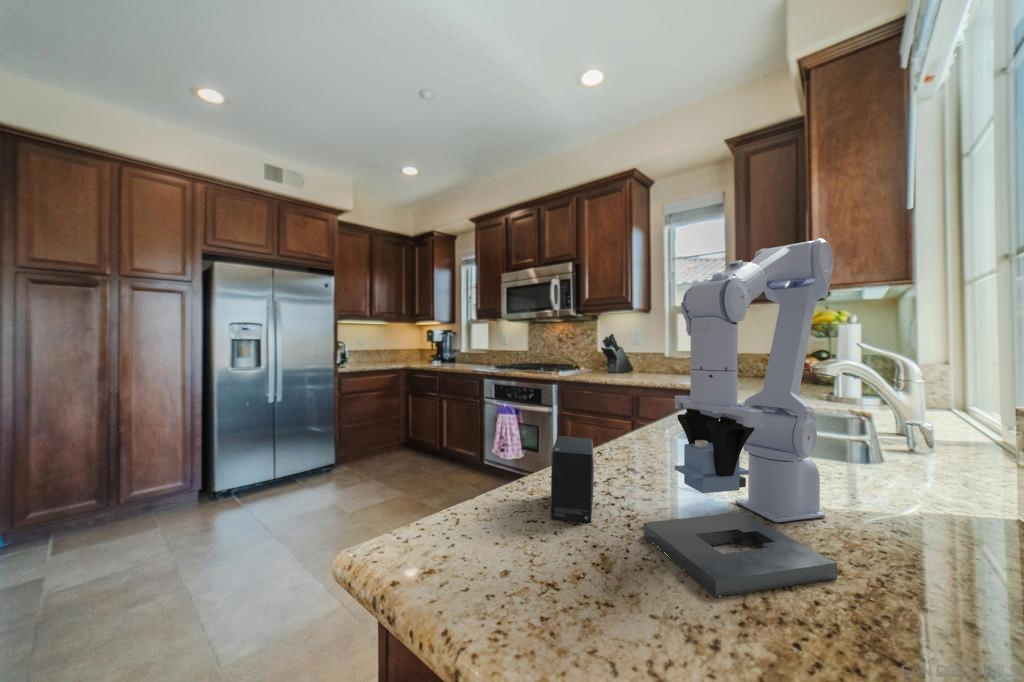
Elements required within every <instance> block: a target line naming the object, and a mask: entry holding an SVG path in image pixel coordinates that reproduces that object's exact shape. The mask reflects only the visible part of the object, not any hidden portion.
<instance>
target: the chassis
mask: <svg viewBox="0 0 1024 682" xmlns="http://www.w3.org/2000/svg"><path fill="white" fill-rule="evenodd" d="M642 525H643V528H642V529H643V530H642V531H643V532H642V533H643V535H644V536H645V537H644V536H643V535H642V536H643V537H644V538H646V539H647V540H648V539H649V540H650V541H651V542H653V543H654V544H655V545H656V546H658V547H659V548H660V549H661V550H662V551H663V552H665V553H666V554H667V555H668V556H669V557H670V558H671V559H672V560H673V561H674V564H676V565H677V564H678V565H679V566H680V567H681V570H683V569H684V570H683V572H685V571H686V572H687V573H688V574H687V573H686V572H685V573H686V574H687V575H689V576H690V575H691V576H692V577H693V578H694V579H695V580H694V579H693V578H692V577H691V576H690V577H691V578H692V579H693V580H694V581H696V583H698V584H699V585H700V584H701V585H702V586H703V587H702V588H704V589H705V588H706V589H707V590H708V591H709V592H710V593H709V592H708V591H707V590H706V589H705V590H706V591H707V592H708V593H709V594H710V595H712V594H713V595H714V596H715V597H719V596H725V597H728V596H727V595H731V596H736V595H735V594H737V595H743V593H744V594H748V593H747V592H750V593H754V592H755V591H756V592H761V591H760V590H763V591H767V589H769V590H774V588H775V589H780V588H785V587H793V586H799V585H804V584H811V583H818V582H824V581H830V580H835V579H838V562H837V561H835V560H834V559H831V558H829V557H827V555H826V556H825V555H824V554H821V553H820V552H819V551H816V550H814V549H812V548H811V547H809V546H807V545H805V544H802V543H801V542H799V541H797V540H796V539H793V538H791V537H789V536H788V535H785V534H784V533H781V532H780V531H779V530H776V529H775V528H773V527H770V526H769V525H766V524H765V523H763V522H761V521H759V520H757V519H756V518H754V517H751V516H749V515H747V514H746V513H744V512H742V511H740V512H731V513H720V514H713V515H712V514H710V515H702V516H694V517H685V518H683V517H682V518H676V519H675V518H674V519H663V520H655V521H647V522H643V523H642ZM649 540H648V541H649ZM650 541H649V542H650ZM651 542H650V543H651ZM653 543H652V544H653ZM726 543H730V544H736V543H738V544H740V545H741V546H742V547H749V546H756V545H757V546H759V547H760V548H757V549H756V548H755V549H750V550H749V549H748V550H742V551H734V552H726V553H723V552H721V551H719V550H718V549H717V548H715V547H714V546H711V545H715V546H719V545H718V544H722V545H727V544H726ZM654 544H653V545H654ZM655 545H654V546H655ZM656 546H655V547H656ZM660 549H659V550H660ZM661 550H660V551H661ZM662 551H661V552H662ZM663 552H662V553H663ZM668 556H667V557H668ZM669 557H668V558H669ZM670 558H669V559H670ZM671 559H670V560H671ZM672 560H671V561H672ZM673 561H672V562H673ZM678 565H677V566H678ZM679 566H678V567H679ZM680 567H679V568H680ZM701 585H700V586H701ZM713 595H712V596H713ZM714 596H713V597H714ZM715 597H714V598H715ZM719 598H720V597H719Z"/></svg>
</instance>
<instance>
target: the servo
mask: <svg viewBox="0 0 1024 682" xmlns="http://www.w3.org/2000/svg"><path fill="white" fill-rule="evenodd" d="M683 446H684V448H683V449H684V452H683V453H684V454H683V455H684V461H683V462H684V463H683V464H684V465H681V464H680V465H674V470H675V471H677V472H678V473H681V474H682V475H683V476H684V477H683V480H684V481H683V482H684V483H683V484H685V485H687V486H689V487H691V488H692V489H694V490H696V491H697V492H700V493H701V494H710V493H712V494H713V493H723V492H724V493H725V492H735V491H740V488H746V487H747V485H746V484H747V478H746V477H744V476H747V475H749V470H748V469H745V468H743V467H742V466H740V457H739V458H738V461H737V465H736V468H735V472H734V475H733V476H727V477H719V476H717V475H716V471H715V464H714V450H713V444H712V443H708V441H705V440H695V444H689V443H685V444H684V445H683Z"/></svg>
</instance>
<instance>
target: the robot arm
mask: <svg viewBox="0 0 1024 682" xmlns="http://www.w3.org/2000/svg"><path fill="white" fill-rule="evenodd" d="M831 247H832V246H831V244H830V243H829V242H828V241H827V240H826V239H825V238H815V239H814V240H809V241H803V242H798V243H792V244H787V245H781V246H774V247H770V248H767V247H766V248H765V247H764V248H761V249H759V250H757V251H755V254H754V258H753V259H752V260H751V261H750V262H749V261H743V259H740V260H734V261H731V262H729V263H727V266H728V268H727V269H725V270H724V271H722V272H721V271H720V272H716V273H714V274H713V275H712V276H711V279H709V280H708V281H707V282H700V283H694V284H692V285H691V286H690V287H689V288H687V290H686V291H685V292H684V295H683V298H682V301H681V302H680V307H681V309H680V310H681V314H682V316H683V318H684V320H685V327H686V328H685V329H686V330H685V331H686V332H687V336H689V337H690V371H689V373H690V374H689V375H690V382H689V383H690V385H689V386H690V389H689V390H690V391H689V392H690V394H689V395H687V394H686V395H674V409H676V410H685V411H686V412H685V413H682V414H681V413H679V414H677V421H678V422H679V424H680V425H681V427H682V429H683V431H684V434H685V437H686V439H687V442H688V444H695V440H705V441H708V443H712V444H713V450H714V464H715V471H716V475H717V476H719V477H727V476H733V475H734V472H735V468H736V465H737V461H738V458H739V459H740V455H741V452H742V450H743V451H744V452H747V454H748V462H747V463H748V465H747V467H748V469H747V470H749V475H748V476H747V478H748V479H747V481H748V485H747V487H748V488H747V489H748V490H747V491H748V494H747V495H748V496H747V498H737V499H735V503H736V504H738V505H740V506H741V507H744V508H746V509H747V510H749V511H752V512H753V513H755V514H756V515H757V514H758V515H760V516H762V517H764V518H765V519H767V520H770V521H772V523H773V522H774V523H782V522H783V523H784V522H791V521H798V520H799V521H800V520H801V521H802V520H807V519H808V520H809V519H816V518H824V517H826V514H825V512H823V511H820V509H821V508H820V507H821V506H820V505H821V503H820V502H821V498H820V497H821V496H820V495H821V492H820V488H821V487H820V486H821V484H820V483H821V482H820V479H821V478H820V477H821V476H820V471H819V469H818V467H817V465H816V463H815V461H814V460H813V459H812V458H811V457H810V456H812V455H813V453H814V452H815V450H816V446H817V442H818V441H817V440H818V433H817V421H818V416H817V414H816V413H815V410H814V409H813V408H812V407H811V406H810V405H809V404H808V403H807V402H805V401H804V400H803V399H802V398H800V397H799V395H800V390H801V384H802V378H803V372H804V369H805V368H804V367H805V363H806V357H807V352H808V345H809V340H810V335H811V331H812V330H811V329H812V325H813V324H812V323H813V320H814V313H815V310H816V309H815V308H816V305H817V301H818V300H820V299H822V298H823V297H825V296H827V295H828V292H829V288H830V286H831V281H832V276H833V270H834V259H833V258H834V257H833V251H832V248H831ZM762 293H764V294H765V297H766V299H767V300H769V301H772V302H773V303H777V304H778V305H779V307H778V311H777V317H776V323H775V328H774V332H773V336H772V337H773V338H772V341H771V343H772V344H771V347H770V351H769V357H768V363H767V367H766V372H765V376H764V382H763V387H762V390H761V391H759V392H757V393H755V394H753V395H751V396H749V397H747V398H746V399H744V402H743V404H741V403H738V372H739V371H738V370H739V369H738V364H739V363H738V357H739V356H738V353H739V352H738V351H739V350H738V345H739V344H738V343H739V342H738V339H739V337H738V335H739V334H738V333H739V332H738V329H739V328H738V326H739V324H738V323H739V322H742V321H744V320H745V318H746V315H747V311H748V308H749V307H750V305H751V303H752V301H754V300H755V299H757V298H758V297H759V296H760V295H762Z"/></svg>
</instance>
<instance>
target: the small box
mask: <svg viewBox="0 0 1024 682" xmlns="http://www.w3.org/2000/svg"><path fill="white" fill-rule="evenodd" d="M594 459H595V458H594V442H593V438H587V437H585V438H584V437H577V436H574V437H573V436H564V435H563V436H562V435H558V436H557V437H556V440H555V443H554V444H553V447H552V449H551V466H550V467H551V475H550V477H551V479H550V482H551V483H550V484H551V485H550V515H549V516H550V517H549V518H550V519H551V520H559V521H560V520H562V521H569V522H570V521H571V522H580V523H592V522H591V521H592V514H593V504H594V503H593V502H594V501H593V500H594V484H595V483H594V480H595V472H594V471H595V463H594V462H595V460H594Z"/></svg>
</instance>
